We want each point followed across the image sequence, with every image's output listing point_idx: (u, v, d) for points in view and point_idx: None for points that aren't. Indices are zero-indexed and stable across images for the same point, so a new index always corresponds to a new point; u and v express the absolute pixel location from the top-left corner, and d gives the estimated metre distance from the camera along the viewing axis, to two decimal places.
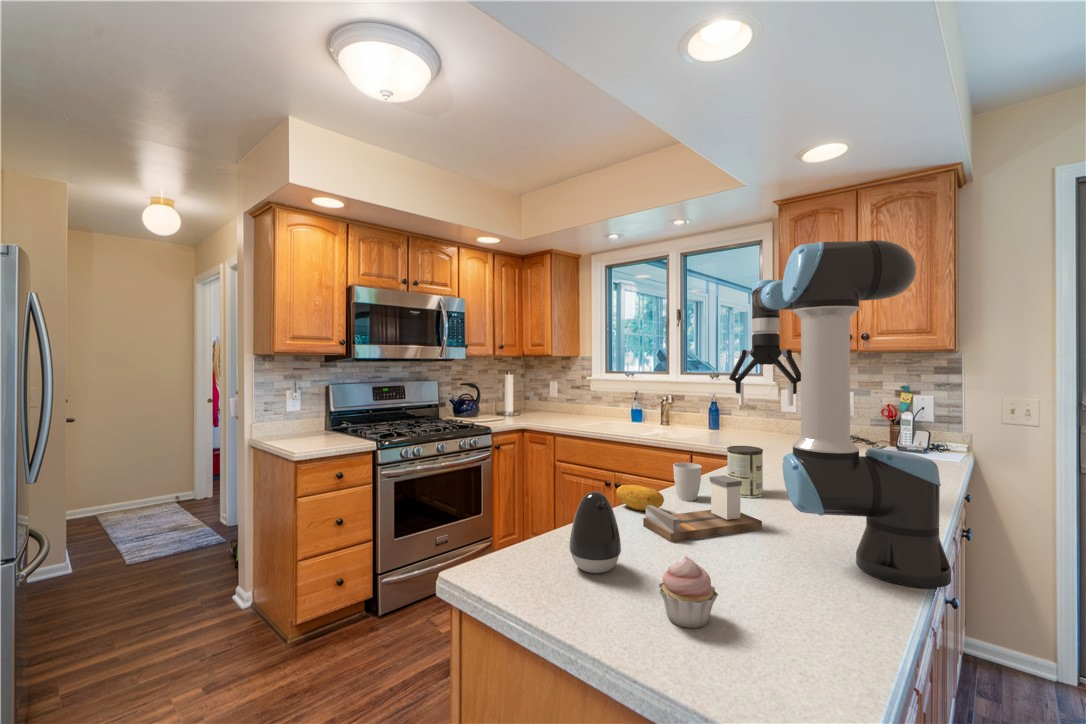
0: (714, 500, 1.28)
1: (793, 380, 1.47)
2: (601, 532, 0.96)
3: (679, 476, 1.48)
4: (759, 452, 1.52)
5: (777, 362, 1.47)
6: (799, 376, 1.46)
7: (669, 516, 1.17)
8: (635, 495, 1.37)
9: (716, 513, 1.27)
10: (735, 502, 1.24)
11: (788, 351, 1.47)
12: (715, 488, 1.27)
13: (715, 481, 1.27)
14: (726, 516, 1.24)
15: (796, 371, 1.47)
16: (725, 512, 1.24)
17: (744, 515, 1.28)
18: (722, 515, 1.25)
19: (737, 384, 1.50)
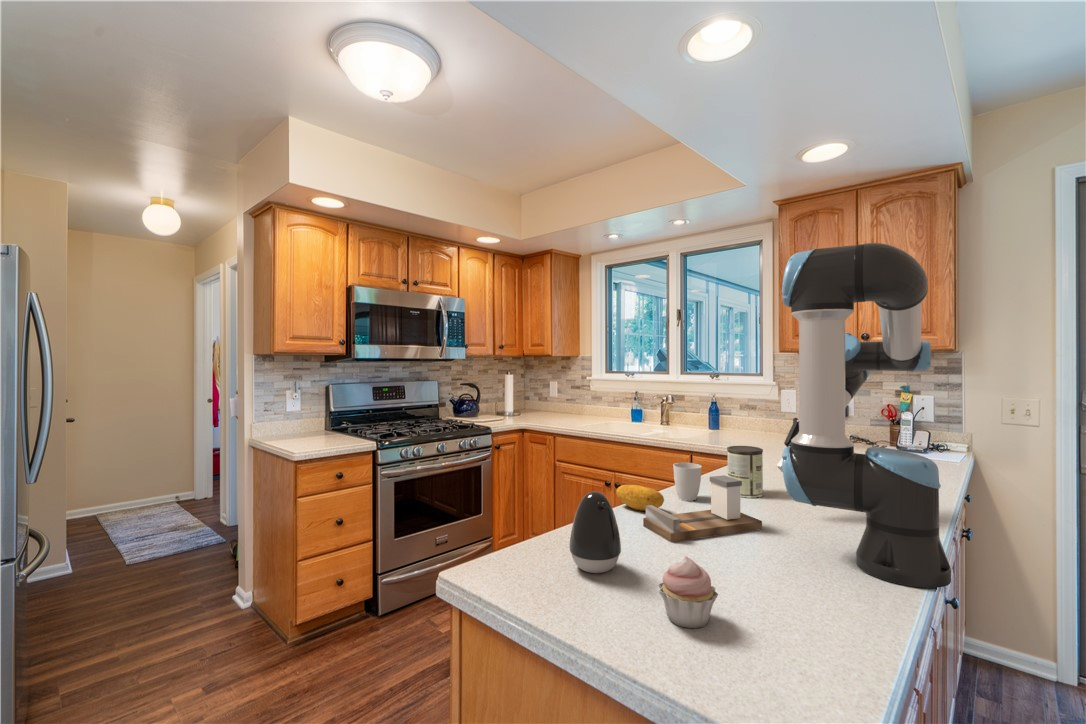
0: (714, 500, 1.28)
1: None
2: (601, 532, 0.96)
3: (679, 476, 1.48)
4: (759, 452, 1.52)
5: None
6: None
7: (669, 516, 1.17)
8: (635, 495, 1.37)
9: (716, 513, 1.27)
10: (735, 502, 1.24)
11: None
12: (715, 488, 1.27)
13: (715, 481, 1.27)
14: (726, 516, 1.24)
15: None
16: (725, 512, 1.24)
17: (744, 515, 1.28)
18: (722, 515, 1.25)
19: None
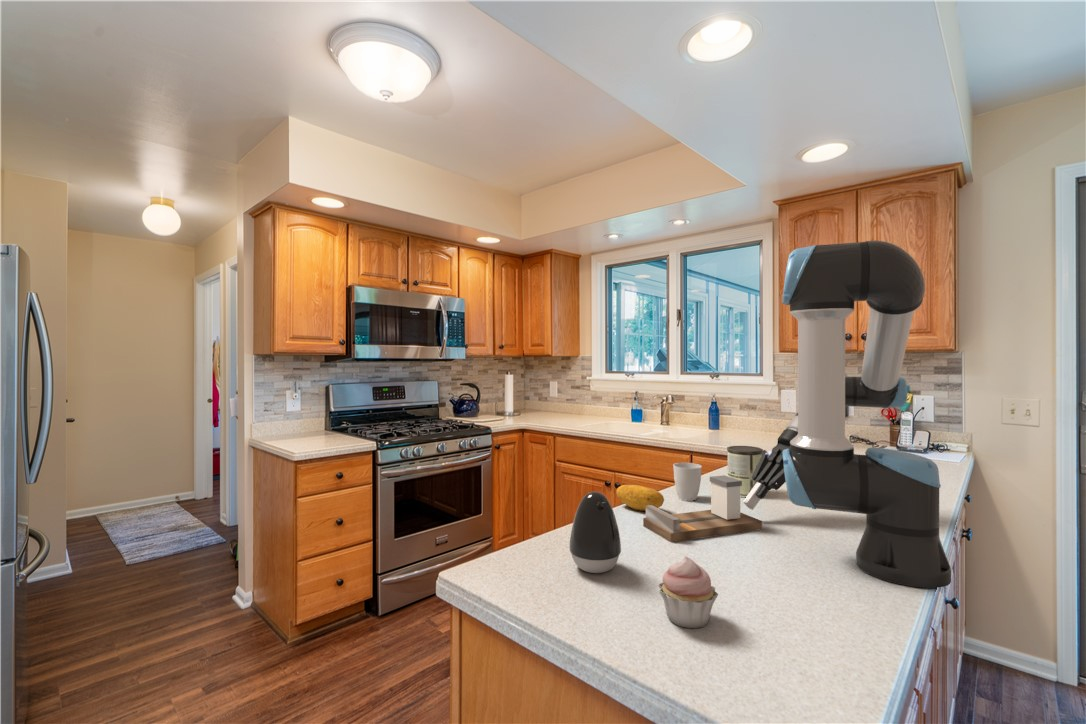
0: (714, 500, 1.28)
1: (764, 480, 1.30)
2: (601, 532, 0.96)
3: (679, 476, 1.48)
4: (759, 452, 1.52)
5: (778, 459, 1.31)
6: (773, 479, 1.28)
7: (669, 516, 1.17)
8: (635, 495, 1.37)
9: (716, 513, 1.27)
10: (735, 502, 1.24)
11: None
12: (715, 488, 1.27)
13: (715, 481, 1.27)
14: (726, 516, 1.24)
15: (777, 474, 1.28)
16: (725, 512, 1.24)
17: (744, 515, 1.28)
18: (722, 515, 1.25)
19: (755, 484, 1.32)
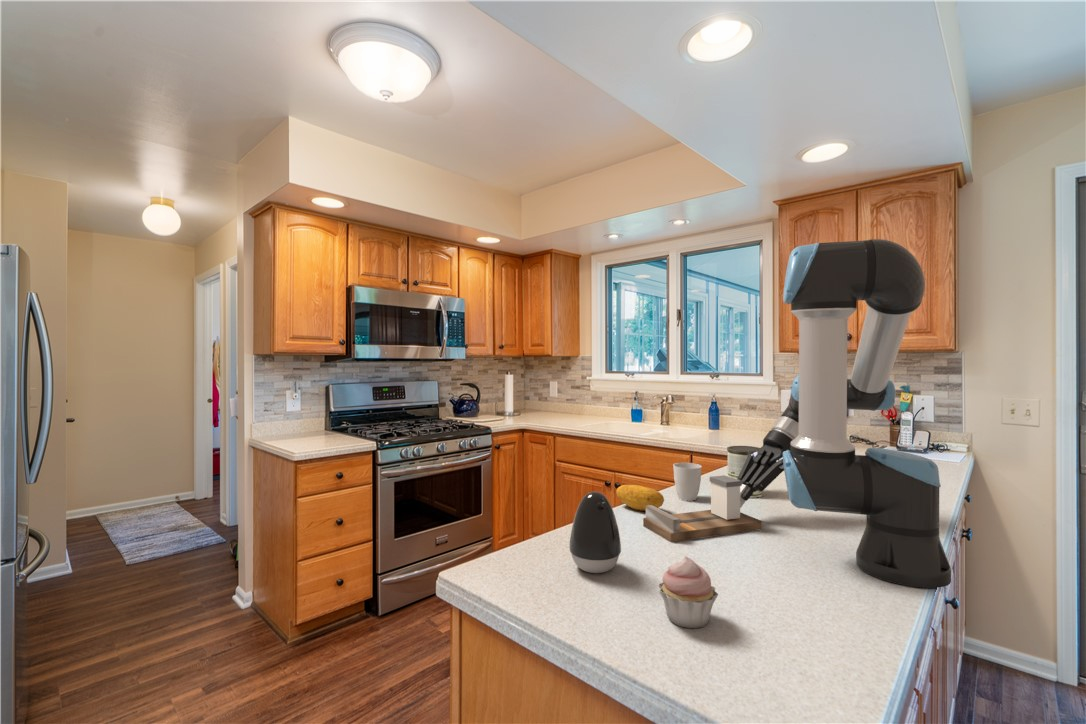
0: (714, 500, 1.28)
1: (749, 482, 1.29)
2: (601, 532, 0.96)
3: (679, 476, 1.48)
4: None
5: (763, 461, 1.31)
6: (758, 480, 1.28)
7: (669, 516, 1.17)
8: (635, 495, 1.37)
9: (715, 513, 1.27)
10: (735, 502, 1.24)
11: (781, 460, 1.27)
12: (715, 488, 1.27)
13: (715, 481, 1.27)
14: (726, 516, 1.24)
15: (762, 476, 1.28)
16: (725, 512, 1.24)
17: (744, 515, 1.28)
18: (722, 515, 1.25)
19: None
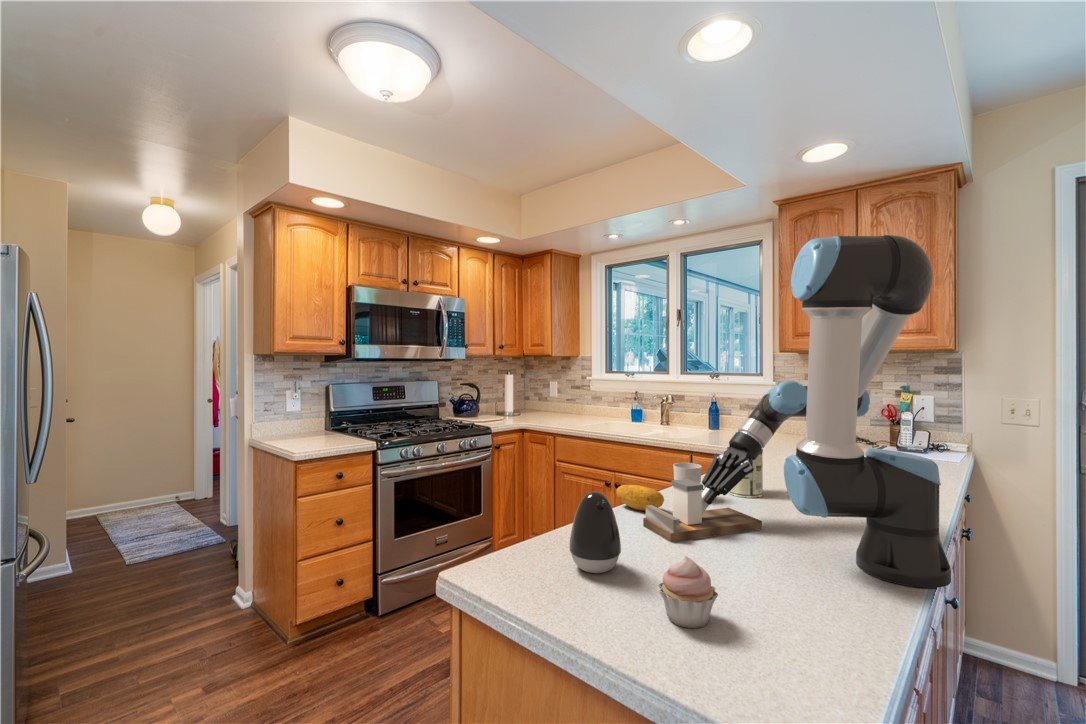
0: (676, 504, 1.24)
1: (713, 486, 1.26)
2: (601, 532, 0.96)
3: (679, 476, 1.48)
4: None
5: (728, 464, 1.27)
6: (721, 484, 1.24)
7: (669, 516, 1.17)
8: (635, 495, 1.37)
9: (677, 517, 1.24)
10: (696, 507, 1.20)
11: (745, 463, 1.23)
12: (676, 492, 1.24)
13: (676, 485, 1.23)
14: (687, 522, 1.20)
15: (726, 479, 1.24)
16: (685, 517, 1.20)
17: (744, 515, 1.28)
18: (683, 520, 1.21)
19: (704, 489, 1.28)
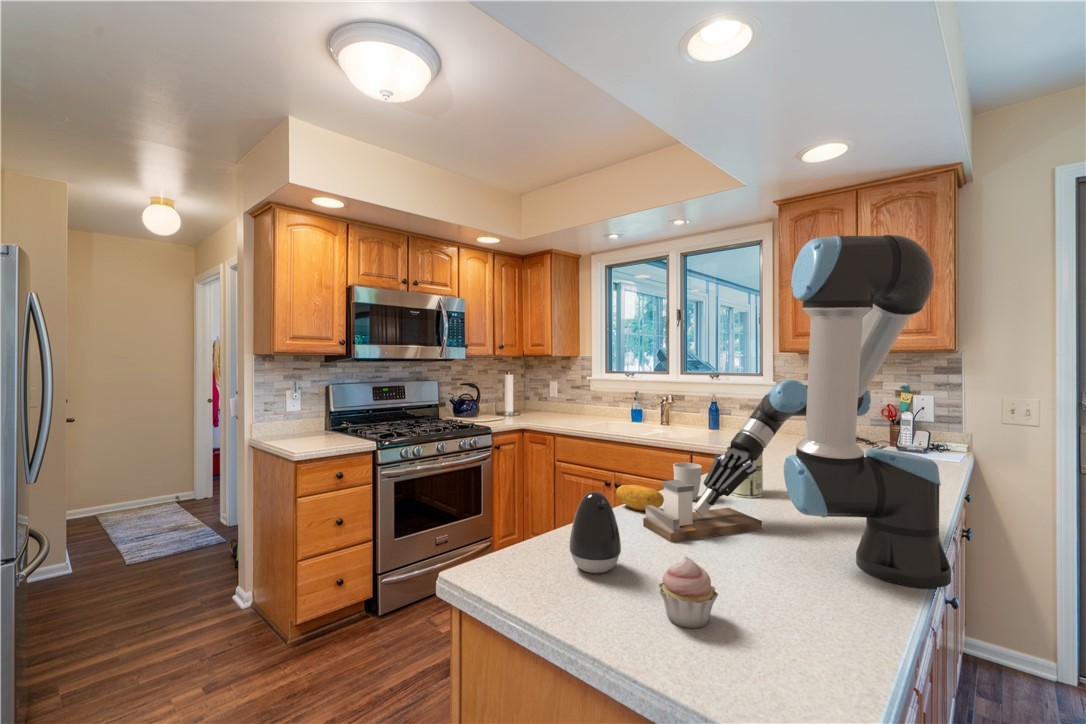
0: (666, 505, 1.23)
1: (715, 486, 1.25)
2: (601, 532, 0.96)
3: (679, 476, 1.48)
4: None
5: (730, 464, 1.26)
6: (724, 485, 1.23)
7: (669, 516, 1.17)
8: (635, 495, 1.37)
9: None
10: (686, 508, 1.20)
11: (748, 463, 1.23)
12: (667, 493, 1.23)
13: (667, 486, 1.22)
14: None
15: (728, 480, 1.23)
16: None
17: (744, 515, 1.28)
18: None
19: (706, 490, 1.27)
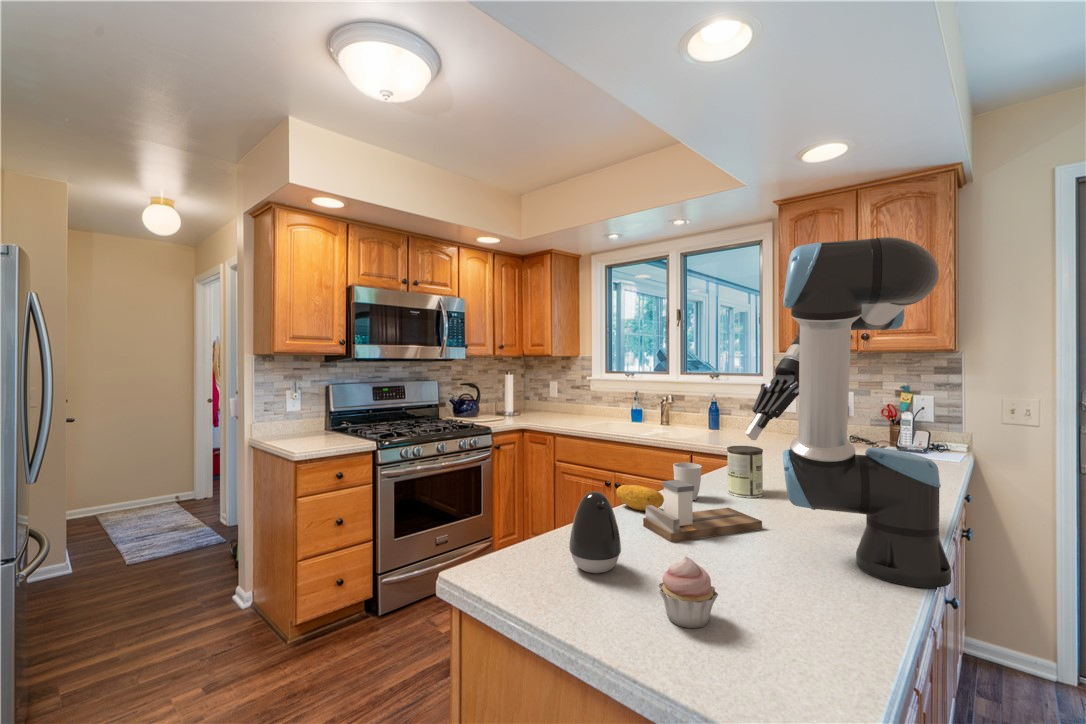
0: (666, 505, 1.23)
1: (765, 410, 1.29)
2: (601, 532, 0.96)
3: (679, 476, 1.48)
4: (759, 452, 1.52)
5: (777, 388, 1.30)
6: (773, 407, 1.27)
7: (669, 516, 1.17)
8: (635, 495, 1.37)
9: None
10: (686, 508, 1.20)
11: (795, 384, 1.27)
12: (667, 493, 1.23)
13: (667, 486, 1.22)
14: None
15: (777, 402, 1.27)
16: None
17: (744, 515, 1.28)
18: None
19: (756, 416, 1.31)
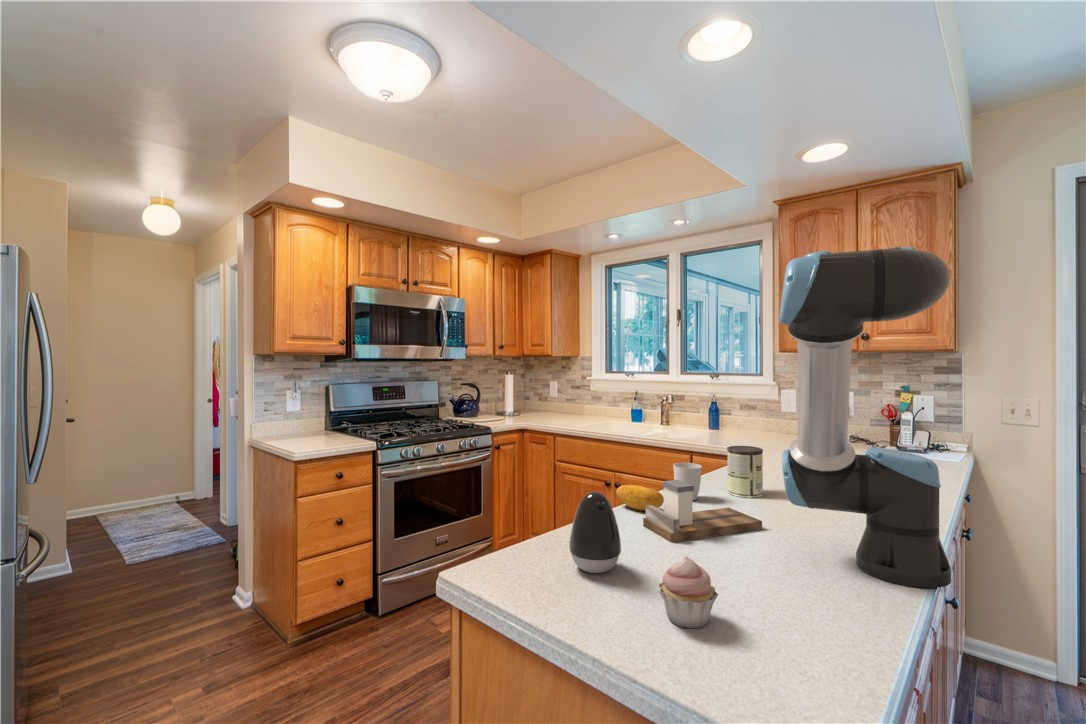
0: (666, 505, 1.23)
1: None
2: (601, 532, 0.96)
3: (679, 476, 1.48)
4: (759, 452, 1.52)
5: None
6: None
7: (669, 516, 1.17)
8: (634, 495, 1.37)
9: None
10: (686, 508, 1.20)
11: None
12: (667, 493, 1.23)
13: (667, 486, 1.22)
14: None
15: None
16: None
17: (744, 515, 1.28)
18: None
19: None
